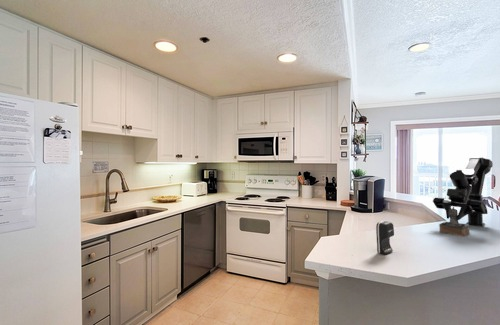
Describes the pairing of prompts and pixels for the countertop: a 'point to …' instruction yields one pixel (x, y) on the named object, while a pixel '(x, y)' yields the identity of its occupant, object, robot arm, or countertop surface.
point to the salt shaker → (453, 218)
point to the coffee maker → (384, 236)
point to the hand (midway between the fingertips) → (452, 218)
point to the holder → (454, 229)
